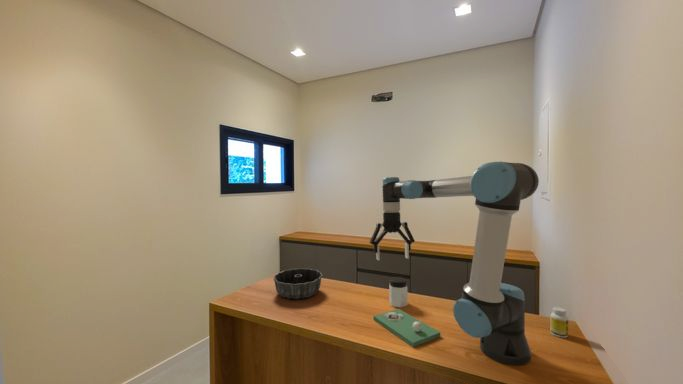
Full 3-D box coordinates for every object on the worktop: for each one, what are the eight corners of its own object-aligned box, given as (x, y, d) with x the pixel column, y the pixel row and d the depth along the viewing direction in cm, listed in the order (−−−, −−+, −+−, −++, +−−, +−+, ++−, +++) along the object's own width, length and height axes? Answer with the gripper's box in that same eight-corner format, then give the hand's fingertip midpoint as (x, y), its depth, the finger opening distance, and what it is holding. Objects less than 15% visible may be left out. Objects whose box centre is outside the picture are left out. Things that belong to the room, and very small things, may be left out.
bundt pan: (320, 303, 139) (320, 283, 138) (267, 303, 139) (267, 283, 139) (324, 284, 165) (324, 268, 165) (280, 285, 165) (279, 268, 165)
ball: (424, 332, 106) (424, 322, 106) (417, 334, 104) (417, 325, 104) (417, 328, 109) (417, 319, 109) (410, 330, 108) (410, 321, 108)
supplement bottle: (569, 339, 103) (569, 313, 102) (551, 335, 106) (551, 310, 105) (567, 333, 107) (567, 307, 107) (549, 329, 110) (549, 305, 110)
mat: (440, 336, 106) (440, 332, 106) (413, 347, 99) (413, 342, 99) (398, 312, 127) (398, 308, 127) (373, 319, 120) (373, 316, 120)
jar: (397, 309, 130) (397, 283, 130) (385, 303, 137) (385, 279, 137) (411, 304, 135) (410, 280, 135) (399, 299, 142) (398, 275, 142)
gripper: (414, 210, 130) (415, 255, 130) (362, 212, 126) (363, 258, 126) (421, 211, 123) (422, 259, 123) (366, 213, 119) (367, 262, 119)
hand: (392, 259), depth 125 cm, fingers open, 13 cm apart
